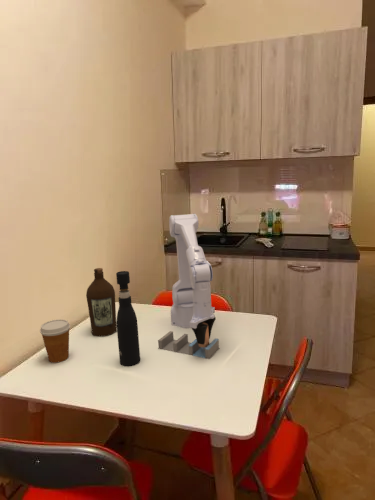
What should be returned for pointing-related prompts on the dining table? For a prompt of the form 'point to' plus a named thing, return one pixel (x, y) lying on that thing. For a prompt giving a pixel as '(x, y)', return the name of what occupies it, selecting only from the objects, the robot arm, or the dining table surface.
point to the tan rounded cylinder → (205, 338)
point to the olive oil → (101, 305)
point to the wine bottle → (127, 324)
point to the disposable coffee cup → (56, 339)
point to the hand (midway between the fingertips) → (203, 340)
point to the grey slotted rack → (187, 346)
